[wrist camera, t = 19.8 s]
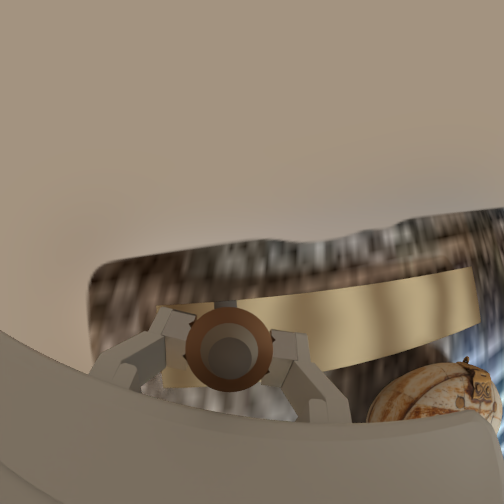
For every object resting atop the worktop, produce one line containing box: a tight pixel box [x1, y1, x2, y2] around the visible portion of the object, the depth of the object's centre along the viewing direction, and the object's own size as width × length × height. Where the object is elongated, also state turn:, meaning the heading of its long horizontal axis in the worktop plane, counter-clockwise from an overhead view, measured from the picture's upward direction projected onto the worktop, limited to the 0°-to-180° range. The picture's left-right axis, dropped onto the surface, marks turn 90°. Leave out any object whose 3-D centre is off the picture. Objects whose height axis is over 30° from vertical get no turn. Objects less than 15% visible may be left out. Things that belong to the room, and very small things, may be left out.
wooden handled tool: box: [185, 307, 273, 392], centre depth 11 cm, size 3×3×12 cm
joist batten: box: [156, 267, 481, 388], centre depth 21 cm, size 30×6×2 cm, turn 96°
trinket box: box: [366, 356, 502, 435], centre depth 16 cm, size 13×15×8 cm
